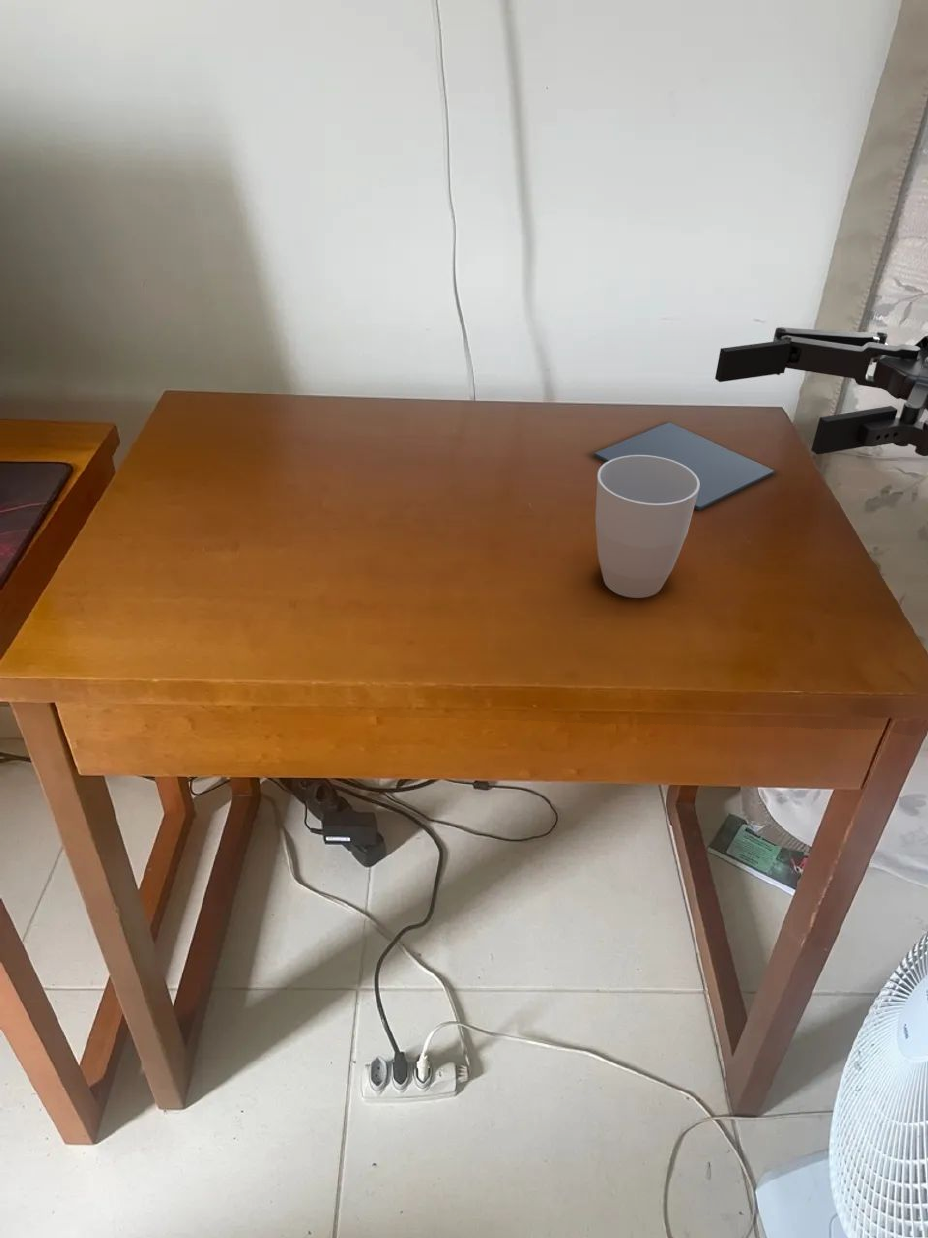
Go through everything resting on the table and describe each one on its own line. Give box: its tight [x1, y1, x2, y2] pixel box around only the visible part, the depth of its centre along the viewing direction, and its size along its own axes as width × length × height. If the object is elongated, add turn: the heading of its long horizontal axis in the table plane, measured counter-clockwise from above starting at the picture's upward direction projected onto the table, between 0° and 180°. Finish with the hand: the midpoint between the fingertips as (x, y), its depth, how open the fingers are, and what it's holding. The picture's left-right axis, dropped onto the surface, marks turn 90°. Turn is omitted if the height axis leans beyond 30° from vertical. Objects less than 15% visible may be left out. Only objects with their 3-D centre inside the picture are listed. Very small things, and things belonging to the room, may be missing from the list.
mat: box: [593, 422, 775, 511], centre depth 102 cm, size 14×12×1 cm
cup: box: [594, 455, 700, 599], centre depth 82 cm, size 8×8×10 cm
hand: (765, 398), depth 78 cm, fingers open, 13 cm apart
